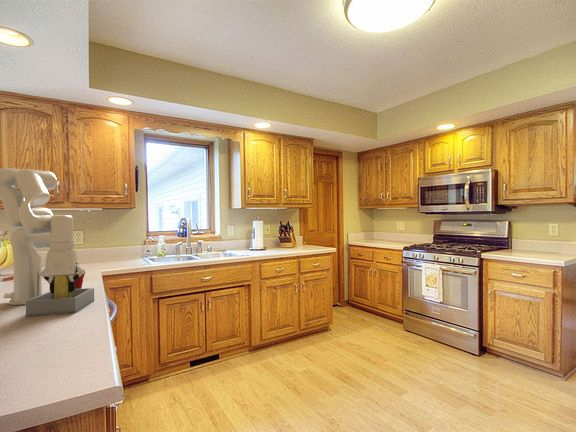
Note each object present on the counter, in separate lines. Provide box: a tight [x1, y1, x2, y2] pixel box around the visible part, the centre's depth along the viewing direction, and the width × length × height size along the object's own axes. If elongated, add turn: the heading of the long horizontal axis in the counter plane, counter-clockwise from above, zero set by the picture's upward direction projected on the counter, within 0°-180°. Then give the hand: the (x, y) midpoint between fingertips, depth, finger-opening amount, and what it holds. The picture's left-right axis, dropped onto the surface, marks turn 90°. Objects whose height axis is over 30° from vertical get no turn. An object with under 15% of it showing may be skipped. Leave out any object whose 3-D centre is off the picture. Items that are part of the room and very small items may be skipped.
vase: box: [54, 275, 72, 299], centre depth 124 cm, size 6×6×14 cm
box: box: [25, 287, 95, 317], centre depth 124 cm, size 16×18×6 cm
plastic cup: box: [75, 268, 87, 289], centre depth 143 cm, size 11×11×12 cm
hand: (62, 291), depth 124 cm, fingers closed on vase, 5 cm apart
